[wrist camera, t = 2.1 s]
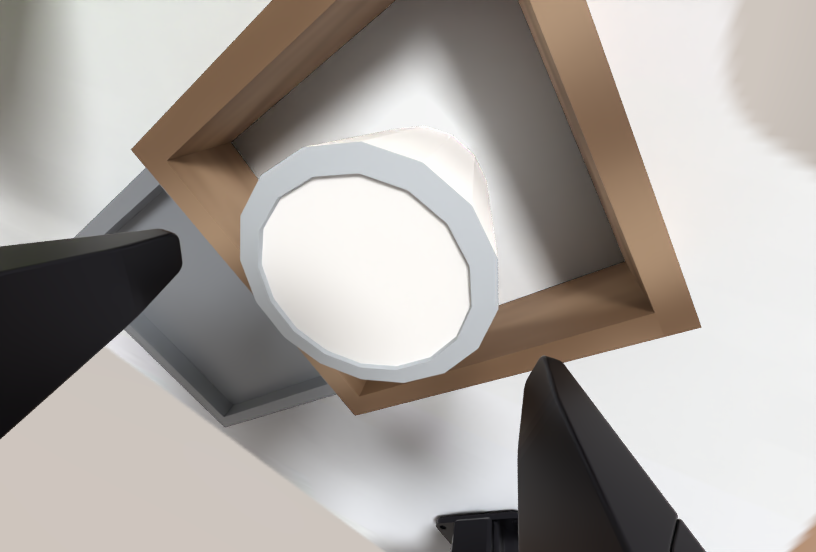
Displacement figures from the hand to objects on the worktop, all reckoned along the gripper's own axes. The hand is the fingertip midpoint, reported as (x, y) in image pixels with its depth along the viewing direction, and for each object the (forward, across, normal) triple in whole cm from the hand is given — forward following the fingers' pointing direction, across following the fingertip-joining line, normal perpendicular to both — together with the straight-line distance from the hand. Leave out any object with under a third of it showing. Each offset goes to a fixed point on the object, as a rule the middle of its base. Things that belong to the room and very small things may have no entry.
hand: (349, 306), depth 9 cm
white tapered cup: (+8, 0, 0) cm, 8 cm away
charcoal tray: (+8, +10, +10) cm, 16 cm away
